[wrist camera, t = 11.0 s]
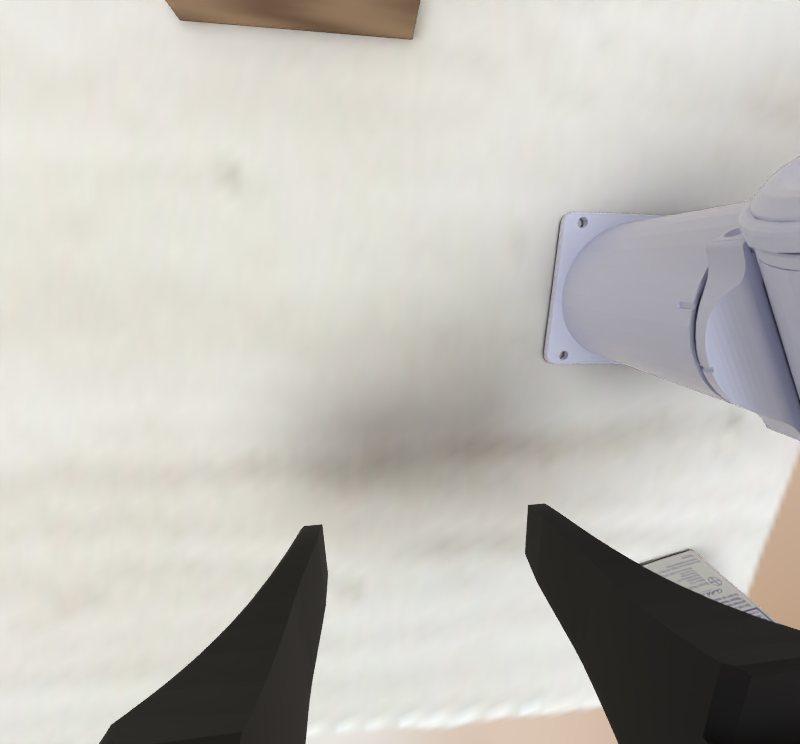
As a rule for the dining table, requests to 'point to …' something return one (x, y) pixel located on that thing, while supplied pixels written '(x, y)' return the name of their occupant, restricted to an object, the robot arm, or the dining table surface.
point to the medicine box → (705, 581)
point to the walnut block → (308, 15)
